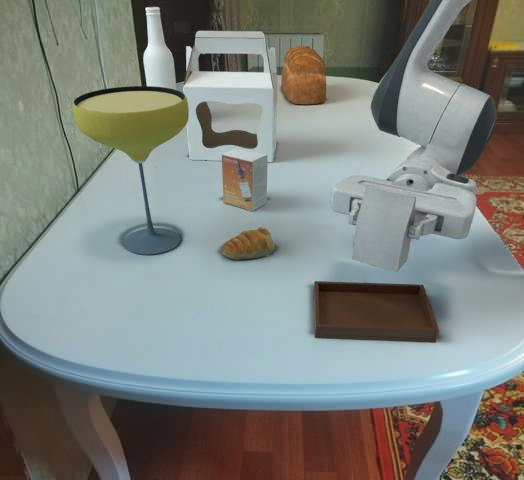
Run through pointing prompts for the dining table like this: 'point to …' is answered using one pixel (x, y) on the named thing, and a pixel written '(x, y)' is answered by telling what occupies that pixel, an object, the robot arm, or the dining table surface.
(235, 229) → the dining table surface
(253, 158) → the small box
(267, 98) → the gable box
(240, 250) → the pastry
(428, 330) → the tray
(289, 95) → the bread
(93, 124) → the cocktail glass
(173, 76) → the alcohol
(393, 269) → the grey rectangular block
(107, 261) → the dining table surface
